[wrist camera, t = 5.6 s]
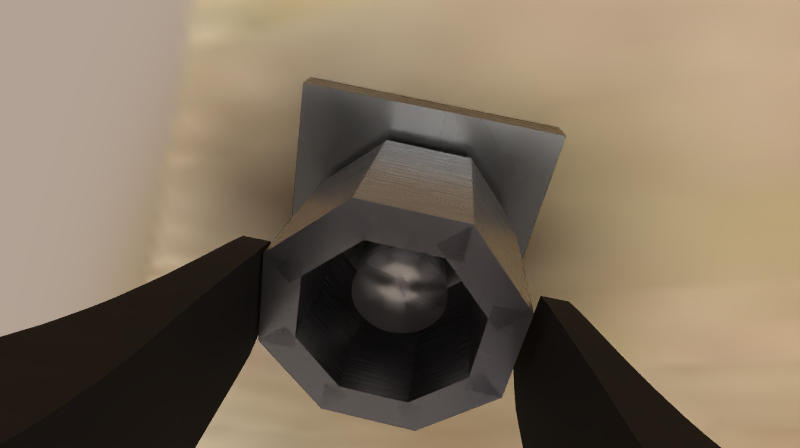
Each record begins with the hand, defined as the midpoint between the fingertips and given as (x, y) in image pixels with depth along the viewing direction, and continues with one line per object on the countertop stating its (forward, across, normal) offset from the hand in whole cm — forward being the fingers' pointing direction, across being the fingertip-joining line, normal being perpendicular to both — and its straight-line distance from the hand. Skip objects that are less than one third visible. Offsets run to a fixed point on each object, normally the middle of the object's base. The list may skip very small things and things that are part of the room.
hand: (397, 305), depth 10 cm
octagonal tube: (+3, 0, 0) cm, 3 cm away
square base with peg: (+5, 0, 0) cm, 5 cm away
